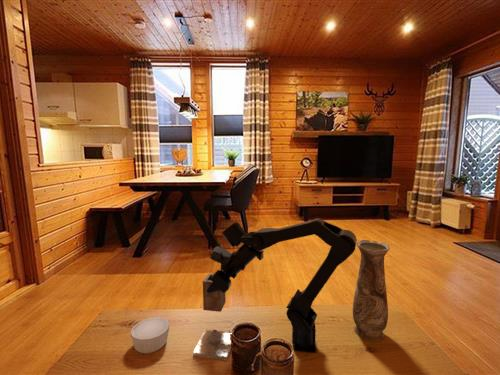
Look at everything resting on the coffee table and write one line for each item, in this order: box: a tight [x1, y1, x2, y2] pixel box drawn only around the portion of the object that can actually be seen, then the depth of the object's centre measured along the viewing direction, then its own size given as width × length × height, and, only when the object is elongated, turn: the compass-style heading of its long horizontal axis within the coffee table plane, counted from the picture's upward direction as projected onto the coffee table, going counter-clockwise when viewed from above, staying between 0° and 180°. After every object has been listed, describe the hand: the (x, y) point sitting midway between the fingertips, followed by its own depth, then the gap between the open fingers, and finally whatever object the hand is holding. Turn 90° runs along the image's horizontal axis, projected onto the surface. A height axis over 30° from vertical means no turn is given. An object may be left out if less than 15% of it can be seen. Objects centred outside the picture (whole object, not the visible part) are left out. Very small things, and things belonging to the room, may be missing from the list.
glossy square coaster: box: [192, 329, 232, 361], centre depth 80 cm, size 10×10×5 cm
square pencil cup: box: [202, 273, 227, 313], centre depth 89 cm, size 6×6×10 cm
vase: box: [352, 239, 391, 342], centre depth 84 cm, size 10×11×30 cm
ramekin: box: [130, 316, 170, 354], centre depth 81 cm, size 11×11×5 cm
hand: (210, 287), depth 89 cm, fingers closed on square pencil cup, 6 cm apart
